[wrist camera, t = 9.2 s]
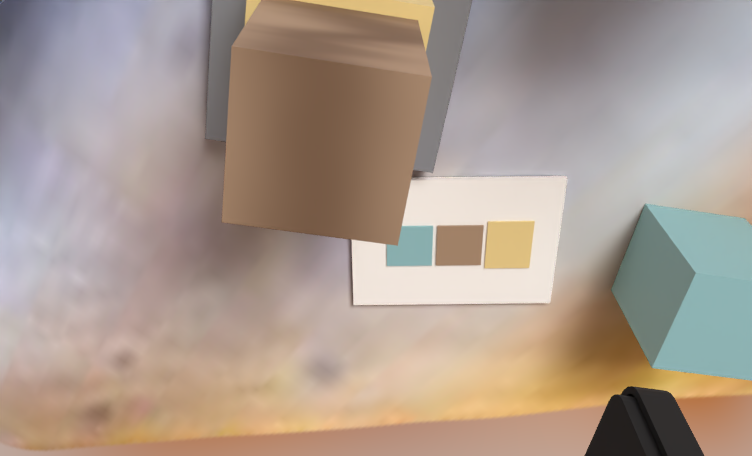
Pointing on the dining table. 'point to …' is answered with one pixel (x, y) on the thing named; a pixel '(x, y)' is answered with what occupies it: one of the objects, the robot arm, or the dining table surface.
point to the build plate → (434, 51)
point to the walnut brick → (324, 120)
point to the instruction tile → (467, 244)
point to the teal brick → (690, 291)
